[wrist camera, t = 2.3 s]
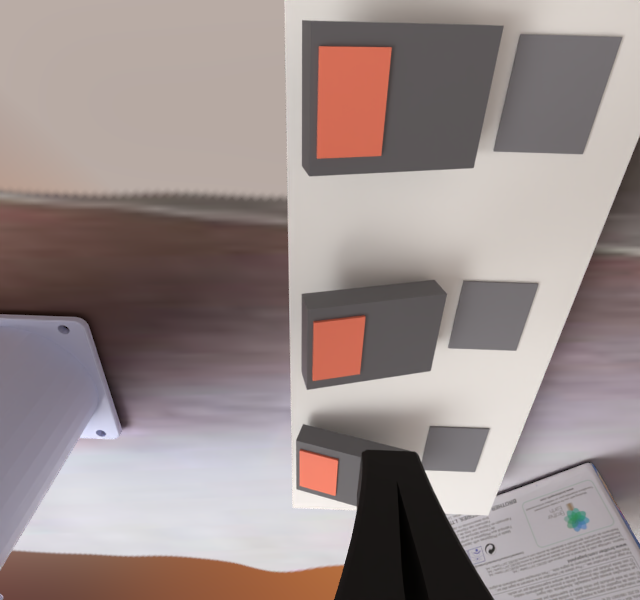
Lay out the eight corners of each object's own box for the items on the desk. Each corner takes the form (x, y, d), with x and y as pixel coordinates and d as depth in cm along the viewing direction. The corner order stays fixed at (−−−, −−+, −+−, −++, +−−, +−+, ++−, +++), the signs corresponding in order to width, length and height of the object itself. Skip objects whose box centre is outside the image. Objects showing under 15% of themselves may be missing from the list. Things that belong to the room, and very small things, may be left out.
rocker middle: (301, 372, 17) (307, 391, 16) (301, 293, 15) (308, 311, 14) (420, 354, 18) (431, 372, 17) (434, 279, 16) (448, 295, 15)
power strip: (295, 476, 27) (292, 509, 25) (285, -472, 9) (274, -584, 8) (478, 483, 27) (488, 517, 25) (813, -462, 9) (926, -575, 7)
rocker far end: (302, 472, 23) (295, 490, 22) (302, 424, 21) (295, 442, 20) (400, 499, 22) (397, 520, 21) (410, 450, 20) (407, 471, 19)
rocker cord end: (301, 165, 13) (310, 177, 12) (301, 20, 11) (311, 21, 10) (457, 158, 14) (475, 169, 13) (482, 24, 12) (506, 26, 11)
